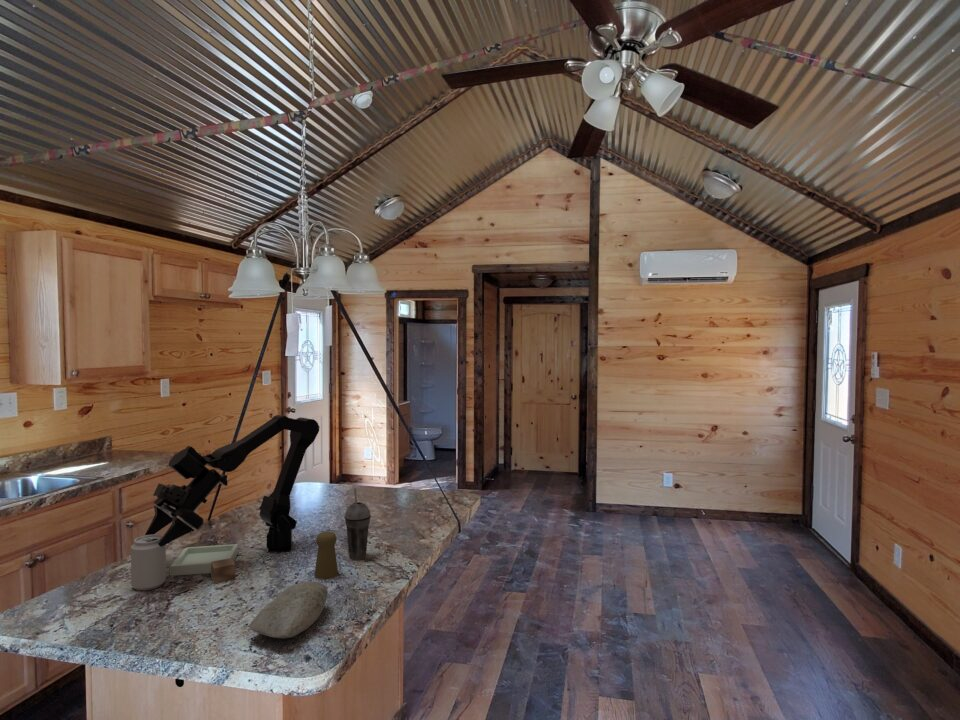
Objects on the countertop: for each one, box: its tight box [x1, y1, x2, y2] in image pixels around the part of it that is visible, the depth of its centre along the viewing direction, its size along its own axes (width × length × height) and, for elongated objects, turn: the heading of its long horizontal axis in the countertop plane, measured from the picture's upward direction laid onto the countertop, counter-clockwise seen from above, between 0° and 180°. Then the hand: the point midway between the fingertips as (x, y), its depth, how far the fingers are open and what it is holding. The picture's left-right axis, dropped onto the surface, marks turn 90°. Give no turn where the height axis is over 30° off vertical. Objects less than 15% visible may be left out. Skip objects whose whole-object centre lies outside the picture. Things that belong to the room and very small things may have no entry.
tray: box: [169, 543, 239, 577], centre depth 155 cm, size 14×14×2 cm
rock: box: [248, 581, 329, 639], centre depth 121 cm, size 8×11×20 cm
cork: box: [313, 531, 339, 580], centre depth 148 cm, size 6×6×11 cm
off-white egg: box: [166, 549, 175, 569], centre depth 153 cm, size 5×5×4 cm
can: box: [130, 533, 167, 591], centre depth 141 cm, size 8×8×12 cm
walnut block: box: [210, 558, 236, 584], centre depth 146 cm, size 5×5×4 cm
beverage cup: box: [344, 487, 372, 561], centre depth 160 cm, size 7×7×20 cm
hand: (152, 541), depth 141 cm, fingers open, 9 cm apart
